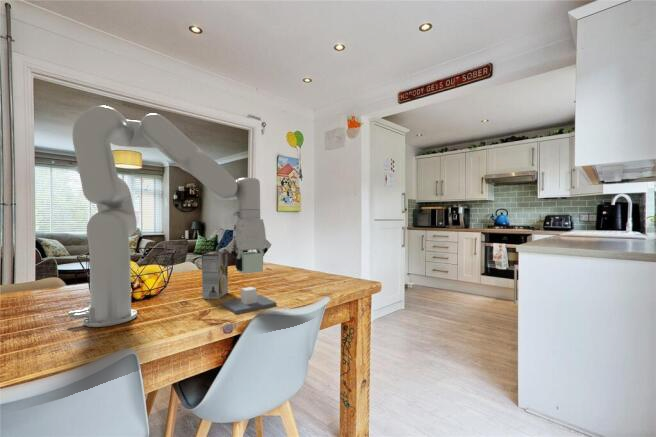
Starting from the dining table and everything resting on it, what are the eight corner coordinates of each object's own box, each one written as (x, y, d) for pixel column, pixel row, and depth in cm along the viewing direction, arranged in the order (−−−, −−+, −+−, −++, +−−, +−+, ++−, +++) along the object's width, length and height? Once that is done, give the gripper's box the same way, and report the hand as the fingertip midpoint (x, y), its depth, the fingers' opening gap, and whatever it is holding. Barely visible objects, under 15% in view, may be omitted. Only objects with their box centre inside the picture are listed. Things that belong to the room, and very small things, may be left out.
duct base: (235, 314, 92) (235, 296, 92) (221, 304, 102) (221, 288, 102) (276, 305, 101) (276, 289, 101) (260, 297, 111) (260, 282, 110)
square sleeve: (244, 273, 97) (244, 255, 97) (236, 270, 102) (236, 253, 102) (262, 271, 101) (262, 253, 101) (254, 268, 106) (254, 251, 106)
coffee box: (212, 292, 118) (211, 251, 118) (228, 292, 118) (228, 251, 118) (201, 298, 109) (201, 254, 109) (219, 299, 109) (219, 254, 109)
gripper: (226, 215, 93) (227, 274, 93) (277, 215, 103) (278, 267, 104) (218, 215, 99) (219, 270, 99) (267, 215, 109) (268, 264, 110)
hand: (249, 268), depth 101 cm, fingers closed on square sleeve, 6 cm apart
